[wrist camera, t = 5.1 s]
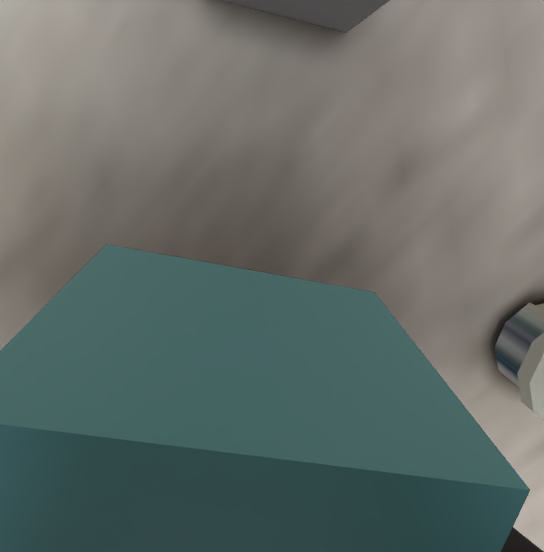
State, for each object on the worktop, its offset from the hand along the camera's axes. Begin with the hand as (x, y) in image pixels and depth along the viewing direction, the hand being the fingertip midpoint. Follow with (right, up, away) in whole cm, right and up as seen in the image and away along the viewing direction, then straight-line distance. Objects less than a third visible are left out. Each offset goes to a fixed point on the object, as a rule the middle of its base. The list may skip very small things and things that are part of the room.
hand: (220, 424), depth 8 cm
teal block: (0, 0, +1) cm, 1 cm away
